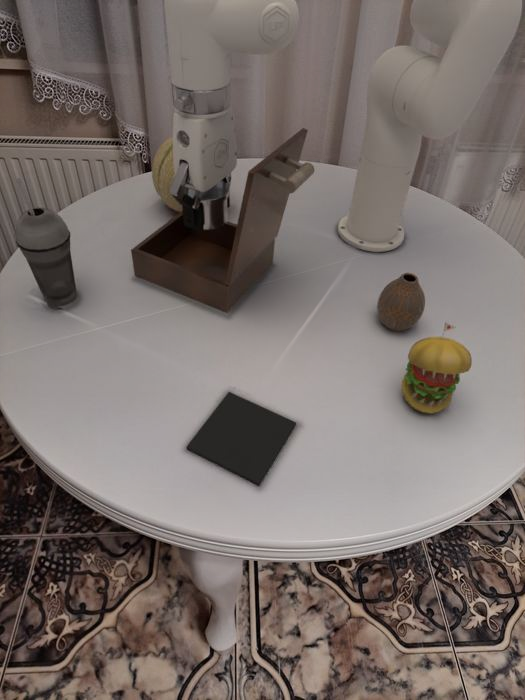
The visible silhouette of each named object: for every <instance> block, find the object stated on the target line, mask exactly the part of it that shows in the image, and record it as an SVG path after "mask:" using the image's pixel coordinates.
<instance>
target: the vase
mask: <svg viewBox="0 0 525 700" xmlns="http://www.w3.org/2000/svg"><path fill="white" fill-rule="evenodd" d="M419 282H420V281H419V278H418V276H417V275H416V274H414V273H411V272H404V273H402V274H401V275H400V276H399V277H398V278H396V279H394V280H391V281H390V282H389V283H387V284H386V285H385V286H384V288H383V289H382V291H381V293H379V296H378V299H377V305H376V311H377V315H378V318H379V320H380V322H381V323H382V324H383V325H384V326H385V327H387V328H388V329H390V330H393V331H405V330H408V329H410V328H412V327H414V326H415V325H416V324H417V323H418V322H419V320H420V319H421V318H422V315H423V313H424V311H425V308H426V296H425V292H424V290H423V287H422V286H421V285H420V283H419Z"/></svg>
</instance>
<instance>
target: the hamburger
mask: <svg viewBox="0 0 525 700" xmlns="http://www.w3.org/2000/svg"><path fill="white" fill-rule="evenodd" d="M456 328H457V327H456V326H454V325H452V324H450V323H448V322H447V321H445V322H444V327H443V332H442V335H441V336H428V337H424V338H421V339H420V340H417V341H416V342H414V343H413V344H412V346H411V347H410V349H409V352H408V355H407V360H408V362H407V365H406V368H405V371H406V373H405V374H404V376H403V378H402V381H401V391H402V395H403V398H404V400H405V402H407V404H408V405H409V406H410V407H411V408H412V409H414V410H416V411H418V412H421V413H425V414H436V413H438V412H441V411H443V410H444V409H446V408H448V407H449V405H450V403H451V402H452V398H453V396H454V395H453V394H454V392H455V391H456V389H457V386H456V385H458V384H460V382H461V378H460V377H461V376H460V375H461V374H465V373H468V372H469V371H470V369H471V367H472V365H473V363H472V361H473V359H472V355H471V353H470V350H469V349H467V347H466V346H465V344H462V343H460V342H459V341H457V340H454V339H453V338H449V337H445V336H444V334H445V332H447V331H450V330H453V329H456Z"/></svg>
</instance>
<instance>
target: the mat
mask: <svg viewBox="0 0 525 700" xmlns="http://www.w3.org/2000/svg"><path fill="white" fill-rule="evenodd" d="M296 426H297V421H294V420H292V419H289V418H288V417H285V416H283V415H281V414H278V413H276V412H274V411H273V410H270V409H268V408H265V407H263V406H261V405H259V404H256V403H255V402H252V401H251V400H248V399H246V398H243V397H241V396H239V395H237V394H235V393H233V392H230V391H227V393H226V394H225V396H224V397H223V398H222V400H221V401H220V403H219V404H218V405H217V406H216V408H215V409H214V410H213V411H212V412H211V414H210V415H209V417H208V418H207V419H206V421H205V422H204V423H203V425H202V426H201V427H200V428H199V430H198V431H197V432H196V433H195V435H194V436H193V437H192V439H191V440H190V441H189V442H188V444H187V445H186V450H187V451H189V452H192V453H193V454H195V455H197V456H199V457H202V458H203V459H205V460H206V461H209V462H210V463H213V464H215V465H216V466H219V467H220V468H223V469H224V470H227V471H229V472H230V473H232V474H234V475H236V476H238V477H240V478H242V479H244V480H246V481H248V482H249V483H251V484H254V485H256V486H258V487H259V486H260V485H262V482H263V481H264V479H265V477H266V476H267V474H268V472H269V471H270V469H271V468H272V465H273V464H274V463H275V461H276V459H277V457H278V456H279V454H280V453H281V451H282V449H283V448H284V446H285V445H286V443H287V441H288V439H289V438H290V436H291V434H292V433H293V432H294V429H295V428H296Z"/></svg>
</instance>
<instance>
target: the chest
mask: <svg viewBox="0 0 525 700" xmlns="http://www.w3.org/2000/svg"><path fill="white" fill-rule="evenodd" d="M237 224H238V223H234V222H231V221H228V220H227V222H226V223H225V224H224V225H223V226H221V227H219V228H216V229H211V230H204V229H203V230H202V231H201V232H199V231H196V230H193V229H190V228H187V227H185V226H184V221H183V211H181V212H178V213H177V214H176V215H175V216H174V217H172V218H171V219H169V220H168V221H167V222H165V223H164V224H163V225H162V226H160V227H159V228H158V229H156V230H155V231H154V232H153V233H151V234H150V235H148V236H147V237H146V238H144V239H143V240H142V241H141V242H139V243H138V244H136V245H135V246H134V247H133V248H131V249H130V253H131V260H132V267H133V273H134V276H135V277H136V278H139V279H142V280H144V281H146V282H149V283H151V284H154V285H157V286H159V287H161V288H164V289H166V290H168V291H171V292H174V293H176V294H179V295H181V296H184V297H186V298H188V299H191V300H194V301H196V302H198V303H201V304H203V305H206V306H208V307H211V308H214V309H216V310H219V311H221V312H223V313H225V314H227V313H228V312H229V311H230V310H231V309H232V308H233V307H234V306H235V305H236V304H237V303H238V302H239V300H240V299H242V297H243V296H244V295H245V294H246V293H247V291H249V289H250V288H251V287H252V286H253V285H254V284H255V283H256V282H257V281H258V280H259V278H261V276H262V275H263V274H264V273H265V272H266V271H267V270H268V269H269V267H271V265H272V264H273V263H274V255H275V244H276V243H275V242H276V238H275V239H274V240H273V241H272V242H271V243H270V244H269V245H268V246H267V247H266V248H265V249H264V250H263V251H262V252H261V253H260V254H259V256H258V257H257V258H256V259H255V260H254V261H253V262H252V263H251V264H250V265H249V266H248V267H247V268H246V269H245V270H244V271H243V272H242V273H241V274H240V275H239V276H238V277H237V278H236V279H235V280H234V281H233V282H232V284H231V285H230V286H229V285H227V284H225V281H226V276H227V271H228V267H229V262H230V257H231V252H232V248H233V243H234V238H235V233H236V229H237Z"/></svg>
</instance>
